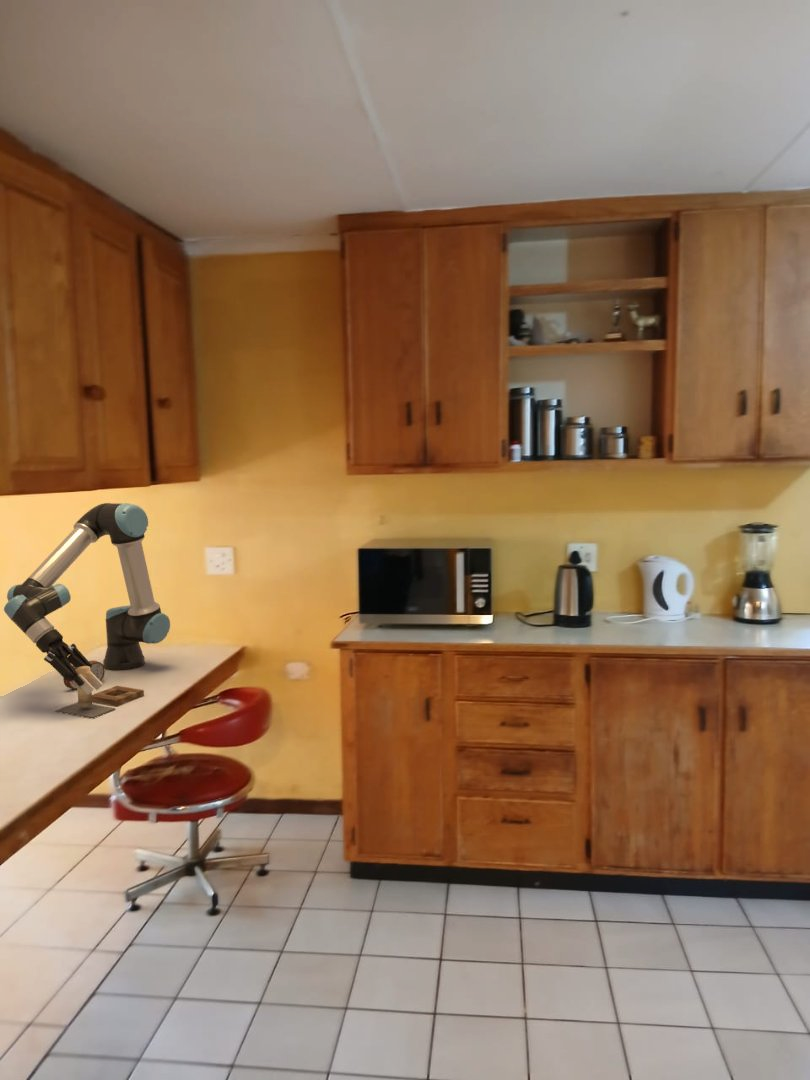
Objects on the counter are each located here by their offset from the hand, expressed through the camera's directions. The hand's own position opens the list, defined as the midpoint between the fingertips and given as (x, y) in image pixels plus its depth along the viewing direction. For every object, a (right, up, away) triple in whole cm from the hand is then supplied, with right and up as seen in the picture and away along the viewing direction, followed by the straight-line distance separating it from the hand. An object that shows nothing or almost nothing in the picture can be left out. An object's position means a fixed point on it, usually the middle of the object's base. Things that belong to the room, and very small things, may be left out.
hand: (95, 689), depth 231 cm
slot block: (+2, -6, +13) cm, 14 cm away
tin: (-15, -5, +27) cm, 31 cm away
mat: (-4, -7, +1) cm, 8 cm away
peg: (-4, -5, +1) cm, 6 cm away
